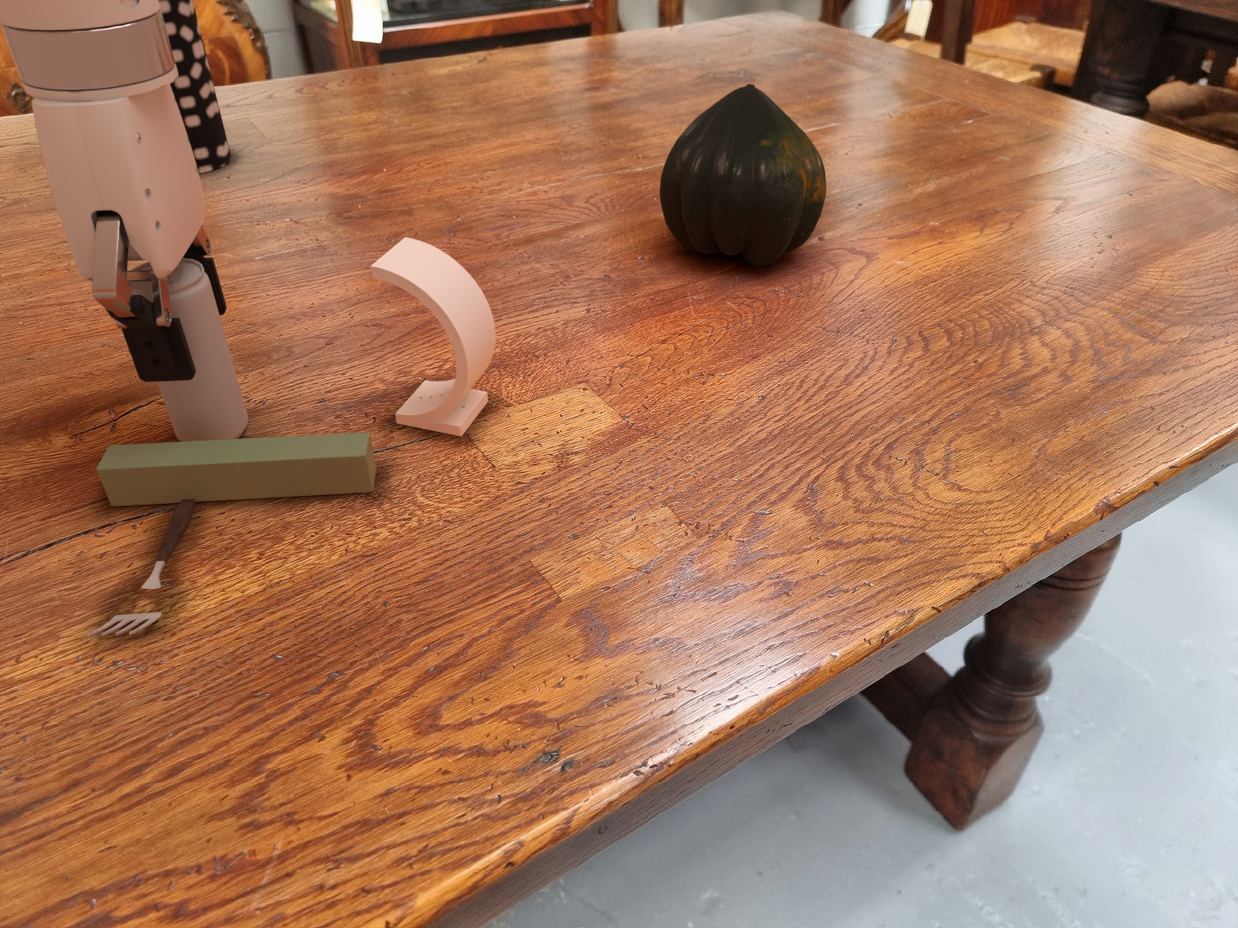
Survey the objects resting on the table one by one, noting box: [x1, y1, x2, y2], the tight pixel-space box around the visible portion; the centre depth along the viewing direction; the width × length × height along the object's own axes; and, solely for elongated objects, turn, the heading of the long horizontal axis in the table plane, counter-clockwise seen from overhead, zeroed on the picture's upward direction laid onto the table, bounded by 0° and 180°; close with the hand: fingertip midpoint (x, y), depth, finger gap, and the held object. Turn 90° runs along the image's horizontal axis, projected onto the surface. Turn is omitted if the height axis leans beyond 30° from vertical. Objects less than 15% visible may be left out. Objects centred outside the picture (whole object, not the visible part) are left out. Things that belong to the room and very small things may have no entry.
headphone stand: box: [370, 236, 497, 437], centre depth 62 cm, size 5×6×12 cm
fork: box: [86, 499, 197, 638], centre depth 54 cm, size 3×16×2 cm, turn 4°
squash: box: [659, 83, 827, 267], centre depth 85 cm, size 14×15×15 cm
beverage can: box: [128, 258, 250, 442], centre depth 60 cm, size 5×5×12 cm
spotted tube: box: [158, 0, 232, 174], centre depth 99 cm, size 8×8×20 cm
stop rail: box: [95, 432, 378, 507], centre depth 58 cm, size 16×2×3 cm, turn 96°
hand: (186, 343), depth 59 cm, fingers open, 7 cm apart
